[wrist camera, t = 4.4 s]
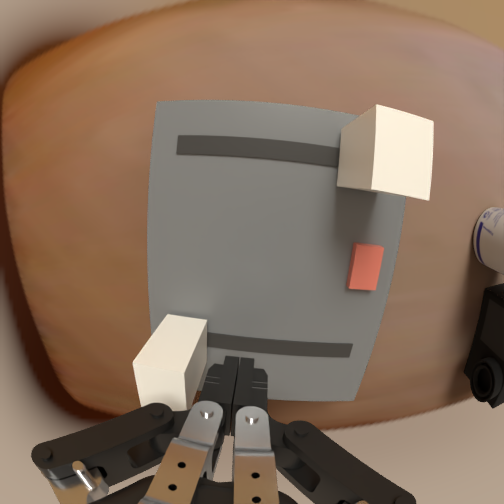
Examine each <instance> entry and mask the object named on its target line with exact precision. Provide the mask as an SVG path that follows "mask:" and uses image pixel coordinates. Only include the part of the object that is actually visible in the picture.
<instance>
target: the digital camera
mask: <svg viewBox="0 0 504 504" xmlns="http://www.w3.org/2000/svg"><path fill="white" fill-rule="evenodd" d="M502 291H503V294H502ZM501 297H502V298H501ZM464 373H465V375H466V376H467V377H468V378H469V379H470V386H471V390H472V393H473V395H474V397H475V398H476V399H477V400H478V401H480V402H486V401H487V402H488V403H489V404H490V406H491V407H492V408H495V407H497V406H499V405H500V404H502V403H504V283H503V284H499V285H495V286H492V287H488V288H485V291H484V296H483V301H482V306H481V311H480V316H479V320H478V325H477V329H476V333H475V337H474V340H473V344H472V347H471V351H470V354H469V358H468V361H467V364H466V367H465V370H464Z"/></svg>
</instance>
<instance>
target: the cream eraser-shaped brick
mask: <svg viewBox="0 0 504 504" xmlns="http://www.w3.org/2000/svg"><path fill="white" fill-rule="evenodd" d="M206 362H207V320H205V319H197V318H190V317H184V316H177V315H171V314H167V315H166V317H165V318H164V319H163V321H162V322H161V324H160V325H159V326H158V328H157V329H156V330H155V332H154V333H153V335H152V336H151V337H150V339H149V340H148V342H147V343H146V344H145V346H144V347H143V348H142V350H141V351H140V353H139V354H138V356H137V357H136V358H135V360H134V361H133V367H134V373H135V378H136V383H137V388H138V393H139V398H140V402H141V407H143V406H145V405H148V404H150V403H163V404H166V405H168V406H169V407H170V408H171V409H172V411H185V410H189V409H191V406H192V403H193V400H194V397H195V394H196V391H197V388H198V386H199V383H200V380H201V377H202V374H203V371H204V368H205V365H206Z"/></svg>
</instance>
